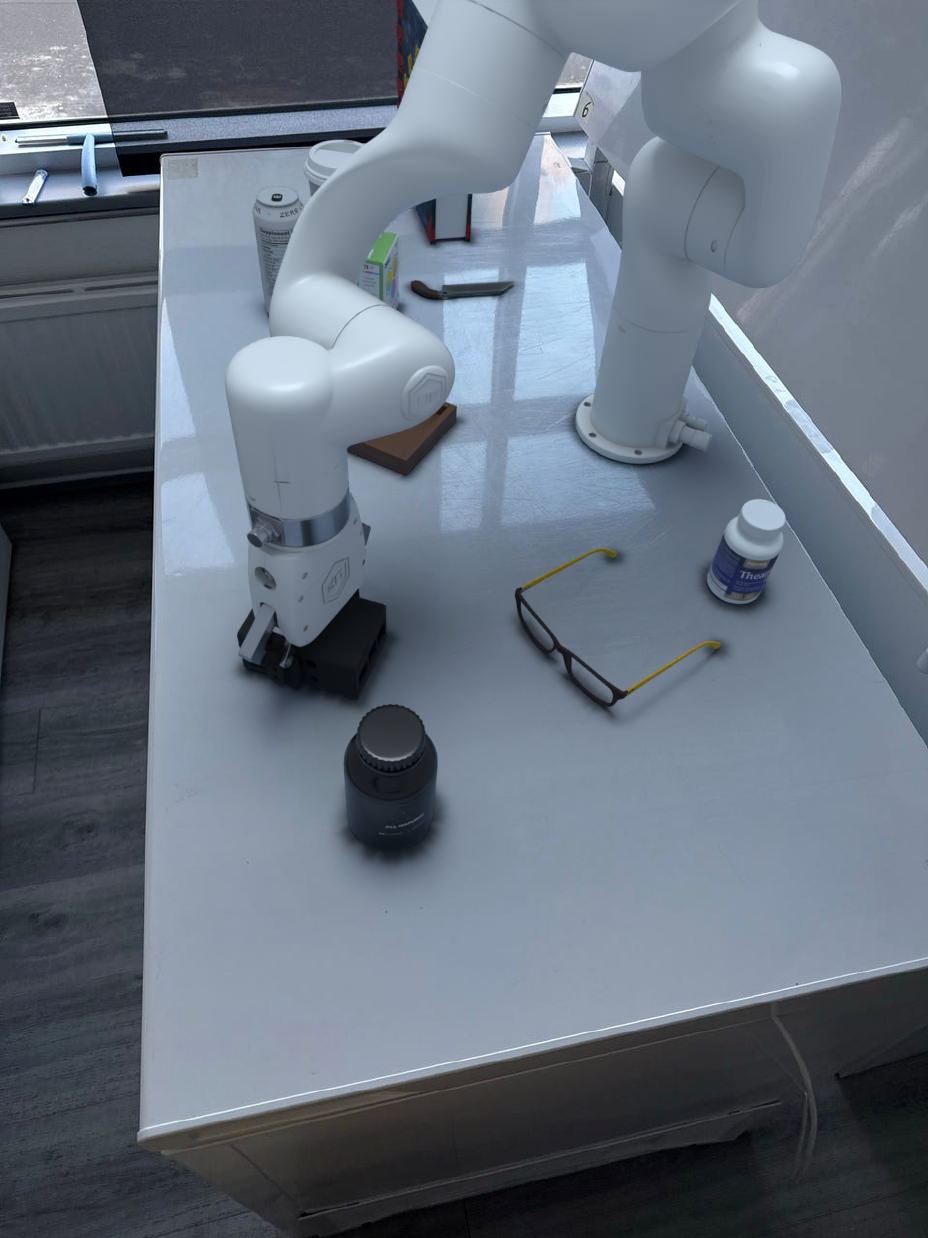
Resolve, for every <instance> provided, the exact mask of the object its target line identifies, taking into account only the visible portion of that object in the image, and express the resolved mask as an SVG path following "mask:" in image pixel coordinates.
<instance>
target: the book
mask: <svg viewBox="0 0 928 1238" xmlns="http://www.w3.org/2000/svg"><path fill="white" fill-rule="evenodd" d="M437 2H438V0H396V13H397V23H396V24H395V25H396V41H397V49H396V50H395V51H396V52H395V53H396V64H397V66H396V67H397V76H396V89H397V101H396V111H397V110H398V108H399V106H400V104H401V101H402V98H403V95H404V92H405V89H406V87H407V84H408V81H409V78H410V75H411V72H412V70H413V67H414V64H415V62H416V59H417V56H418V53H419V51H420V48H421V45H422V43H423V40H424V37H425V34H426V32H427V29H428V26H429V24H430V21H431V18H432V15H433V13H434V10H435V7H436V5H437ZM473 196H474V194H461V195H452V196H446V197H441V198H436V199H433V200H429V201H426V202H423V203H421V204H418V205H416V206H414V207H415V209H416V211H417V212H416V213H417V215H418V216H419V219H420V221H421V223H422V226H423V228H424V232H425V234H426V237H427V239H428V241H429V242H430V243H429V244H430V245H435V244H436V240H440V239H453V238H463V239H464V240H465V243H466V242H471V232H472V231H471V230H472V213H473V212H472V211H473Z"/></svg>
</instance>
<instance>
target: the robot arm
mask: <svg viewBox="0 0 928 1238" xmlns="http://www.w3.org/2000/svg"><path fill="white" fill-rule="evenodd" d="M758 4H759V0H438V2H437V5H436V7H435V10H434V13H433V15H432V18H431V21H430V24H429V26H428V29H427V32H426V34H425V37H424V40H423V43H422V45H421V48H420V51H419V53H418V56H417V59H416V62H415V64H414V67H413V70H412V72H411V75H410V78H409V81H408V84H407V87H406V89H405V92H404V95H403V98H402V101H401V104H400V106H399V108H398V110H397V109H396V112H395V115H394V117H393V118H392V119H391V121H390V122H389V123H388V125H387V126H386V127H385V128H384V130H382V131H381V132H380V133H379V134H377V135H376V136H374V137H373V138H372V139H371V140H368V141H367V142H366V143H365V144H364V146H362V147H361V148H360V149H358V150H357V151H356V152H355V153H354V154H352V155H351V156H350V157H349V158H348V159H347V160H346V161H345V162H344V163H343V164H342V165H341V166H340V167H339V168H338V169H337V170H336V171H335V172H334V173H333V174H332V175H331V176H330V177H329V178H328V179H327V180H326V181H325V182H324V183H323V184H322V185H321V186H320V188H319V189H318V190H317V191H316V192H315V193H314V194H313V196H312V197H311V196H310V198H309V199H308V201H307V203H306V204H305V205H304V209H303V211H302V212H301V214H300V216H299V218H298V220H297V222H296V224H295V227H294V229H293V231H292V234H291V237H290V240H289V243H288V246H287V249H286V252H285V255H284V257H283V260H282V263H281V266H280V269H279V272H278V276H277V279H276V282H275V286H274V290H273V294H272V299H271V303H270V309H269V313H268V332H269V337H264V338H261V339H258V340H255V341H253V342H251V343H249V344H247V345H245V346H243V347H242V348H240V350H238V351H237V352H236V353H235V354H234V355H233V357H232V358H231V360H230V362H229V363H228V365H227V368H226V370H225V376H224V388H225V396H226V401H227V407H228V413H229V418H230V423H231V430H232V434H233V441H234V447H235V451H236V457H237V462H238V468H239V473H240V478H241V483H242V490H243V495H244V501H245V505H246V512H247V515H248V523H249V527H250V531H249V532H248V533H247V534H246V538H247V541H248V542H247V543H248V545H247V573H248V575H247V576H248V587H249V596H250V602H251V609H252V608H253V612H254V616H255V620H254V622H253V624H252V626H251V628H250V630H249V632H248V634H247V636H246V638H245V640H244V642H243V644H242V646H241V648H240V647H239V649H238V656H239V657H240V658H241V659H242V658H244V659H246V660H248V661H250V662H252V663H255V664H258V665H262V666H264V667H266V668H267V671H268V673H267V674H268V677H269V679H270V680H271V682H273V683H275V684H276V685H278V686H280V687H285V686H287V687H288V688H291V689H293V690H294V691H296V692H297V691H300V689H301V688H302V687H303V684H302V677H301V670H300V664H299V659H298V658H297V657H295V656H294V654H295V651H296V648H297V646H299V647H301V646H305V645H307V644H308V643H310V642H311V641H313V640H314V639H315V638H316V637H317V636H318V635H319V634H320V633H321V631H322V630H323V629H324V628H325V627H326V626H327V625H328V623H329V622H330V621H331V620H332V619H333V618H334V617H335V615H336V614H337V613H338V612H339V611H340V610H341V608H342V607H343V606H344V605H345V604H346V603H347V601H348V600H349V599H350V598H351V597H352V595H353V596H356V597H360V598H361V596H360V587H361V585H362V583H363V582H364V580H365V579H366V577H367V570H368V563H367V562H368V561H367V549H366V546H367V544H368V540H369V537H370V534H371V529H372V528H371V525H370V524H367V523H364V522H363V521H362V518H361V514H360V510H359V508H358V505H357V503H356V499H355V497H354V495H353V493H352V491H350V483H349V482H350V481H349V479H350V477H349V463H348V451H347V448H348V447H349V446H351V445H354V444H357V443H361V442H364V441H368V440H372V439H375V438H379V437H383V436H386V435H390V434H393V433H397V432H400V431H403V430H406V429H409V428H411V427H413V426H415V425H417V424H419V423H421V422H423V421H425V420H426V419H428V418H429V417H431V416H432V415H433V414H434V413H436V412H437V411H438V410H439V409H440V407H441V406H442V405H443V404H444V403H445V402H447V400H448V398H449V397H450V394H451V392H452V390H453V387H454V384H455V379H456V365H455V361H454V357H453V355H452V353H451V351H450V349H449V347H448V346H447V345H446V343H445V342H444V341H443V340H442V339H441V338H440V337H439V336H437V335H436V334H435V333H433V331H431V330H429V329H428V328H426V327H425V326H423V325H422V324H420V323H418V322H417V321H415V320H414V319H411V318H410V317H408V316H407V315H406V314H403V313H402V312H400V311H399V310H398V309H397V310H396V309H394V308H393V307H391V306H389V305H388V304H386V303H385V302H383V301H381V300H380V299H378V298H376V297H375V296H373V295H371V294H370V293H368V292H367V291H365V290H363V289H362V288H360V287H359V286H357V284H358V282H359V279H360V276H361V273H362V271H363V268H364V265H365V263H366V260H367V258H368V256H369V254H370V252H371V249H372V247H373V245H374V244H375V242H376V241H377V239H378V238H379V236H380V235H381V233H382V232H385V230H386V229H387V228H388V226H389V225H390V224H391V223H392V222H393V221H395V220H396V219H397V218H398V217H399V216H400V215H402V214H404V213H406V212H407V211H408V210H410V209H411V208H414V207H415V206H416V205H418V204H421V203H423V202H426V201H429V200H433V199H436V198H441V197H446V196H452V195H461V194H473V195H478V194H480V195H481V194H489V193H490V194H491V193H492V194H493V193H495V192H496V193H497V192H499V191H503V190H505V189H507V188H509V187H510V186H511V185H513V183H514V182H515V181H516V180H517V178H518V175H520V174H519V173H520V172H521V169H522V167H523V165H524V162H525V159H526V157H527V155H528V152H529V150H530V148H531V145H532V143H533V141H534V139H535V136H536V134H537V130H538V128H539V125H540V123H541V122H542V119H543V117H544V115H545V113H546V110H547V109H548V106H549V103H550V101H551V98H552V96H553V94H554V91H555V89H556V87H557V85H558V82H559V80H560V78H561V75H562V73H563V71H564V69H565V66H566V65H567V62H568V60H569V58H570V55H571V54H572V53H575V54H576V55H579V56H581V57H585V58H587V59H590V60H593V61H595V62H598V63H600V64H603V65H605V66H608V67H610V68H614V69H615V70H618V71H622V72H625V73H640V97H641V108H642V115H643V118H644V122H645V125H646V126H647V127H648V129H649V130H650V131H651V132H652V134H654V135H655V137H653V138H651V139H650V140H648V141H647V142H646V143H645V144H644V145H643V146H642V147H641V148H640V149H639V150H638V152H637V153H636V155H635V156H634V158H633V160H632V162H631V163H630V166H629V168H628V171H627V174H626V178H625V181H624V187H623V194H622V213H621V214H622V238H621V239H622V241H621V253H620V260H619V267H618V274H617V278H616V284H615V288H614V294H613V298H612V304H611V308H610V313H609V319H608V323H607V328H606V333H605V337H604V338H605V339H604V343H603V347H602V352H601V358H600V362H599V368H598V373H597V377H596V382H595V388H594V392H592V393H591V394H589V395H588V396H586V397H585V398H584V399H583V400H581V402H580V404H579V405H578V407H577V410H576V413H575V420H574V425H575V429H576V432H577V434H578V436H579V437H580V439H581V440H582V442H583V443H584V444H586V445H587V446H588V447H589V448H590V449H592V450H593V451H594V452H596V453H598V454H599V455H601V456H604V457H605V458H608V459H611V460H613V461H618V462H620V463H621V462H622V463H626V464H636V465H637V464H639V465H640V464H641V465H642V464H652V463H657V462H661V461H663V460H666V459H669V458H670V457H672V456H673V455H675V454H676V453H677V452H678V451H679V450H680V449H681V447H682V446H683V444H685V445H688V446H690V447H692V448H694V449H697V450H699V451H703V452H707V450H708V448H709V446H710V444H711V441H712V438H713V435H712V434H711V433H708V432H705V431H706V430H707V428H708V425H709V421H708V420H706V419H703V418H700V417H696V416H693V415H690V412H688V411H686V408H687V405H688V402H689V398H688V397H686V396H684V393H685V390H686V386H687V383H688V380H689V376H690V373H691V369H692V367H693V363H694V359H695V356H696V352H697V350H698V349H697V348H698V345H699V342H700V340H701V339H700V338H701V336H702V331H703V328H704V325H705V321H706V318H707V315H708V313H709V309H710V305H711V300H712V291H713V290H712V289H713V282H712V281H713V280H712V272H713V273H714V274H717V275H718V276H720V277H722V278H725V279H727V280H729V281H731V282H734V283H736V284H739V285H741V286H744V287H747V288H751V289H767V288H770V287H773V286H776V285H778V284H780V283H781V282H782V281H783V280H785V279H787V278H788V277H789V275H791V273H792V272H793V271H795V269H796V267H797V266H798V264H799V263H800V261H801V259H802V258H803V256H804V254H805V252H806V250H807V248H808V245H809V244H810V243H809V242H810V241H811V238H812V236H813V231H814V228H815V225H816V222H817V217H818V213H819V209H820V206H821V201H822V195H823V192H824V187H825V182H826V178H827V174H828V169H829V165H830V160H831V155H832V150H833V147H834V141H835V137H836V132H837V127H838V123H839V116H840V111H841V105H842V82H841V76H840V73H839V69H838V68H837V66H836V64H835V62H834V61H833V60H832V59H831V56H829V55H828V54H827V53H825V52H824V51H823V50H821V49H819V48H817V47H815V46H813V45H812V44H809V43H807V42H804V41H801V40H798V39H795V38H792V37H790V36H787V35H783V34H781V33H778V32H775V31H773V30H770V29H769V28H768V27H766V26H765V25H764V24H763V23H762V21H761V20H760V18H759V9H758ZM275 633H277V634H279V635H281V636H283V637H285V638H286V641H285V644H284V648H281V647H279V646H277V645H275V644H272V643H273V640H274V636H275Z"/></svg>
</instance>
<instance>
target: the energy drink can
mask: <svg viewBox="0 0 928 1238" xmlns="http://www.w3.org/2000/svg"><path fill="white" fill-rule="evenodd" d="M299 197H300V196H299V192H298V191H297V190H296V189H295V188H293V187H291V186H288V185H283V184H282V185H281V184H272V185H268V186H264V187H261V188H260V189H258V191H257V192H256V193H255V198H256V200H255V202H254V204H253V206H252V219H253V225H254V232H255V240H256V248H257V255H258V263H259V264H258V265H259V271H260V277H261V278H260V279H261V286H262V293H263V301H264V308H265V310H266V313H268V314H269V309H270V303H271V299H272V294H273V290H274V286H275V282H276V279H277V276H278V272H279V269H280V266H281V263H282V260H283V257H284V255H285V252H286V249H287V246H288V243H289V240H290V237H291V234H292V231H293V229H294V227H295V224H296V222H297V220H298V218H299V216H300V214H301V212H302V211H303V209H304V207H305V205H304V203H303V202H302V200H301V199H300V198H299Z"/></svg>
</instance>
